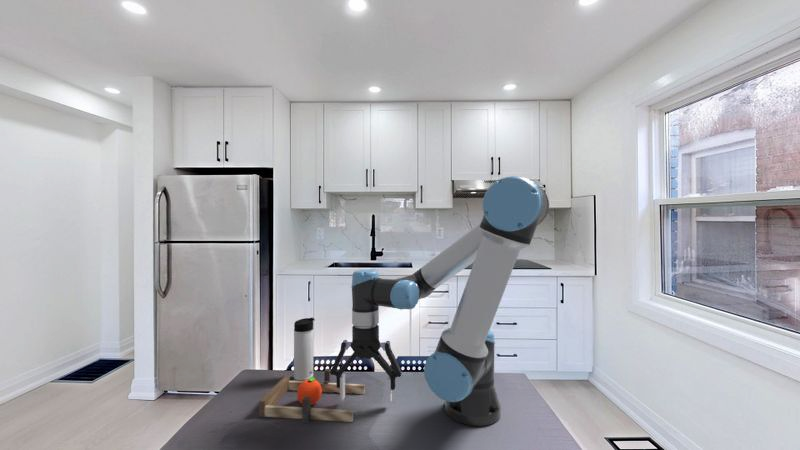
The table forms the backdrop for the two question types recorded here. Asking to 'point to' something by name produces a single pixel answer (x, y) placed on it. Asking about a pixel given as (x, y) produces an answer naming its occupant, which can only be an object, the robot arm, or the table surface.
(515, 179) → the robot arm
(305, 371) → the travel mug
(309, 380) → the clementine
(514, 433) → the table surface
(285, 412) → the lane
